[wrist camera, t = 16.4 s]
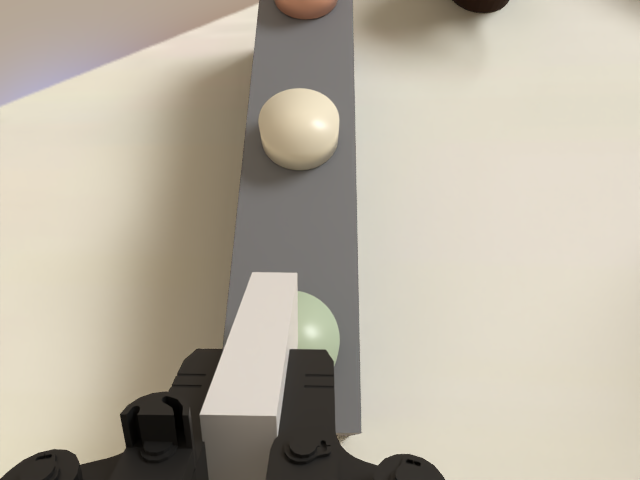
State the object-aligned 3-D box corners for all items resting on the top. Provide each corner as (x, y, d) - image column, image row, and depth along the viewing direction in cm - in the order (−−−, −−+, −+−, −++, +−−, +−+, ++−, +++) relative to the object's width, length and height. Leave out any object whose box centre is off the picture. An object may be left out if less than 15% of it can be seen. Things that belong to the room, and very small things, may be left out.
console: (350, 435, 28) (361, 433, 21) (240, 433, 28) (213, 430, 21) (346, 46, 43) (351, -36, 35) (272, 45, 43) (263, -38, 35)
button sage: (335, 401, 24) (339, 393, 20) (248, 400, 24) (233, 391, 20) (336, 315, 26) (339, 291, 22) (254, 313, 26) (242, 289, 22)
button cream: (336, 194, 30) (339, 153, 25) (264, 193, 30) (255, 152, 25) (336, 135, 32) (339, 88, 27) (268, 134, 32) (261, 87, 27)
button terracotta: (336, 50, 35) (339, -3, 31) (275, 49, 35) (269, -4, 31) (336, 8, 37) (339, -48, 33) (278, 7, 37) (273, -49, 33)
